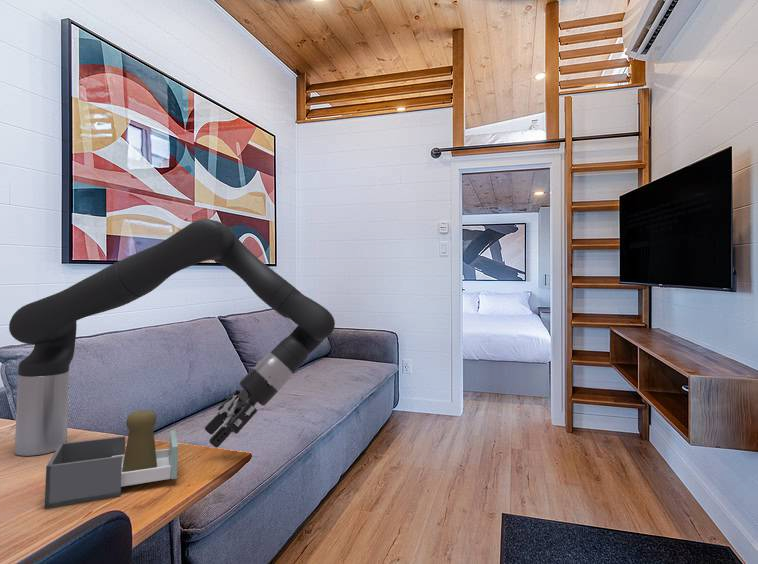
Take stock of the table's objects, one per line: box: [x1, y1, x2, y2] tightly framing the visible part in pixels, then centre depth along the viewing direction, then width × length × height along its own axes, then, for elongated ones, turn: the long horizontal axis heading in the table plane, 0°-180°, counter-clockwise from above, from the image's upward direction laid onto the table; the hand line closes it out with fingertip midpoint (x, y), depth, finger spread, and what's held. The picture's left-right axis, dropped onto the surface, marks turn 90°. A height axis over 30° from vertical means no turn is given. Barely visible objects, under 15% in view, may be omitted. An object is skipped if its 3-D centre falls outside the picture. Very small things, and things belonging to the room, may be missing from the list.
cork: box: [122, 409, 157, 472], centre depth 84 cm, size 6×6×11 cm
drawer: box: [112, 429, 179, 487], centre depth 84 cm, size 11×11×6 cm
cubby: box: [44, 435, 126, 510], centre depth 80 cm, size 11×12×7 cm
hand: (209, 438), depth 90 cm, fingers open, 8 cm apart
